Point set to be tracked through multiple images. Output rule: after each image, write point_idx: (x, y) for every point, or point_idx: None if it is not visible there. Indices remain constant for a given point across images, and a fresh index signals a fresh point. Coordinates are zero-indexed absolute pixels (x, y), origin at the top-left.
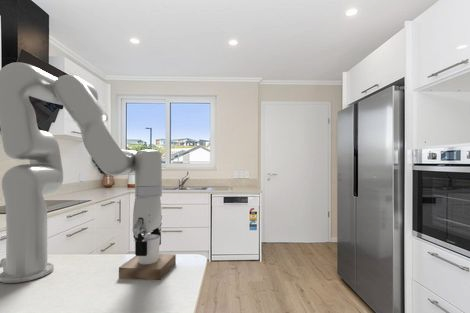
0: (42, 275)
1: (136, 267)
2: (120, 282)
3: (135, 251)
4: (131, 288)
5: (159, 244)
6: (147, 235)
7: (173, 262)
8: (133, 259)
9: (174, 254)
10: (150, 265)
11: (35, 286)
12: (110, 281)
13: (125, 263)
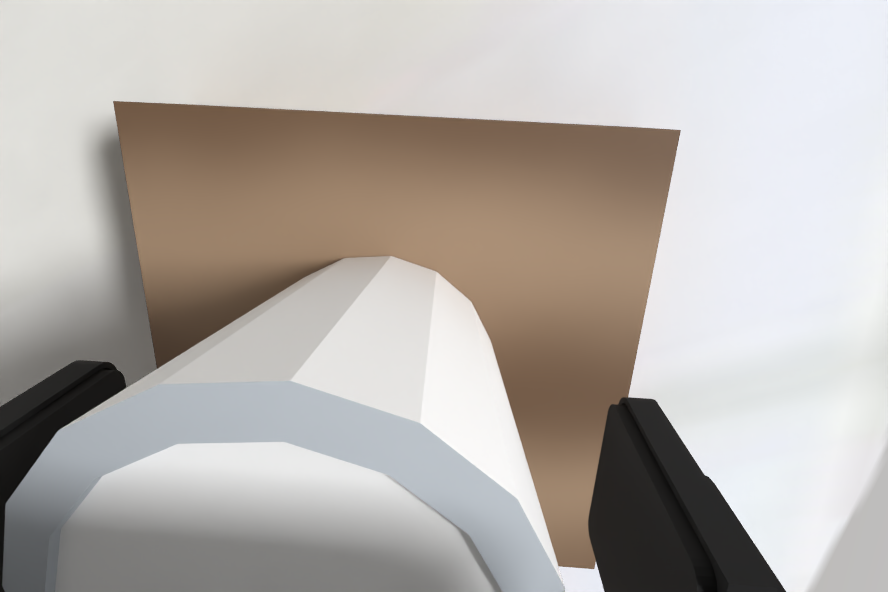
0: None
1: (171, 313)
2: (121, 165)
3: (38, 387)
4: (54, 311)
5: (589, 533)
6: (441, 574)
7: None
8: (412, 162)
9: (590, 560)
10: None
11: None
12: (113, 47)
13: (258, 120)
